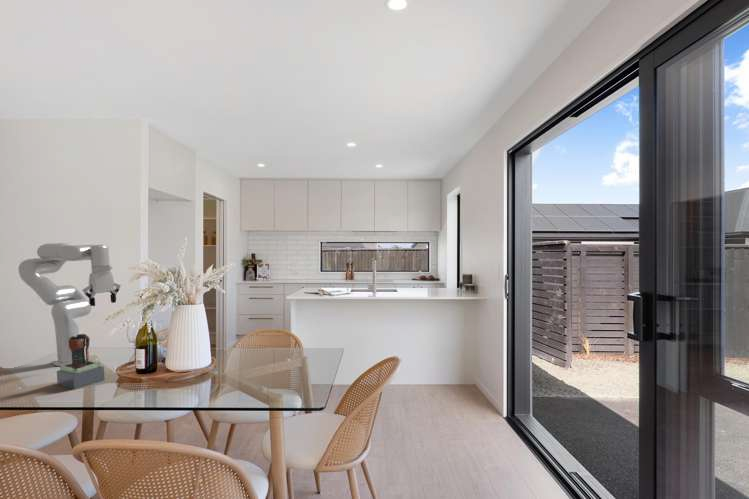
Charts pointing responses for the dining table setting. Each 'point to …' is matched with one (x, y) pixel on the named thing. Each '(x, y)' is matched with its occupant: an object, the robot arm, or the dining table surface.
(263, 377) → the dining table surface
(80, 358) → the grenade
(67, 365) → the stand
